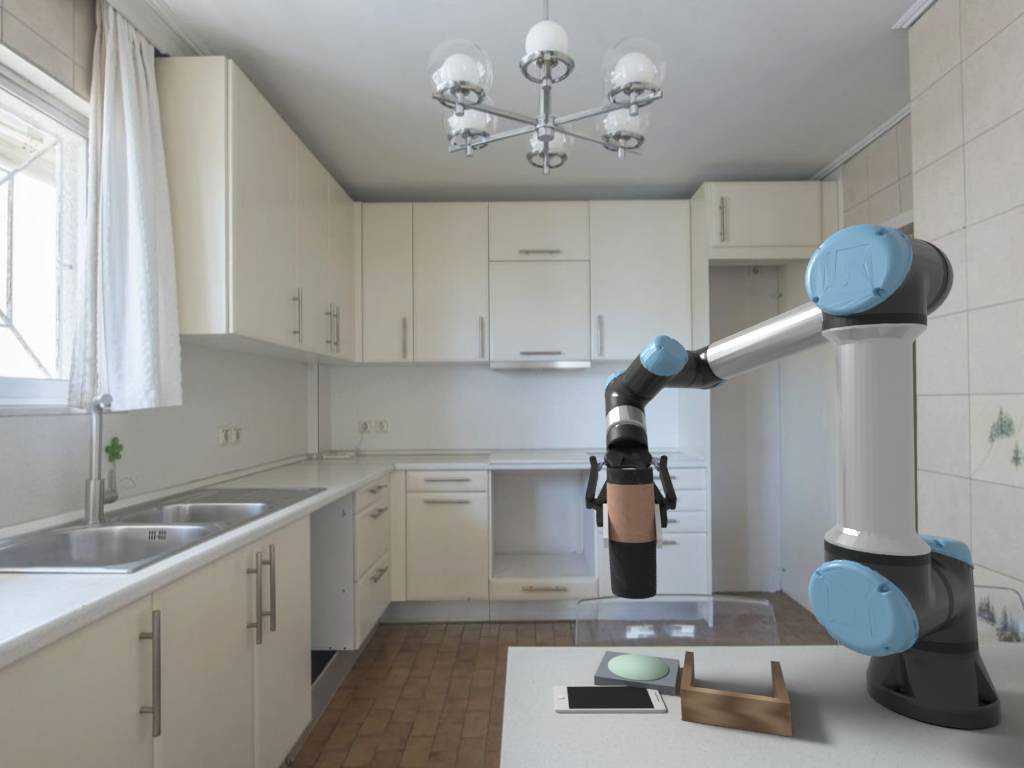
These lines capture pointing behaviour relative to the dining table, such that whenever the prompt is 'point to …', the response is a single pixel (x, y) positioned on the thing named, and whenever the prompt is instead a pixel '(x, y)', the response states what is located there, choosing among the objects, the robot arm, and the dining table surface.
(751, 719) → the mug cradle
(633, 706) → the smartphone
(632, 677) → the dock pad
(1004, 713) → the dining table surface
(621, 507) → the travel mug
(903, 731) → the dining table surface
